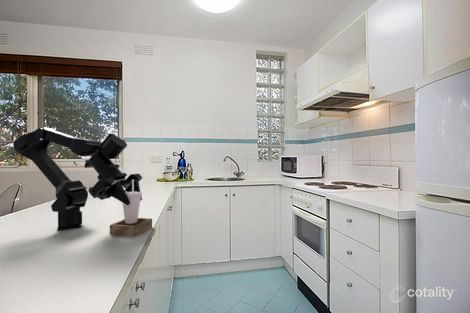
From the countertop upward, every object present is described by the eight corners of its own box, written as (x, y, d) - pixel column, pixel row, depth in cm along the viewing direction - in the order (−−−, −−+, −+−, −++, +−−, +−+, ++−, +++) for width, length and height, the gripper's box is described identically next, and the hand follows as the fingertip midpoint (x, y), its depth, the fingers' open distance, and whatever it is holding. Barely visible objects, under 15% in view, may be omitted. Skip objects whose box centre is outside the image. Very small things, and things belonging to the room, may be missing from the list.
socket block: (109, 234, 73) (109, 225, 73) (128, 225, 83) (128, 217, 82) (136, 236, 72) (136, 226, 72) (152, 227, 81) (152, 218, 81)
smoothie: (145, 220, 79) (146, 179, 79) (131, 225, 73) (132, 181, 73) (130, 218, 81) (131, 178, 81) (115, 223, 75) (116, 180, 75)
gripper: (110, 181, 89) (136, 211, 87) (66, 188, 71) (98, 227, 69) (129, 161, 88) (156, 191, 86) (89, 162, 69) (122, 201, 67)
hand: (135, 202), depth 77 cm, fingers closed on smoothie, 6 cm apart
